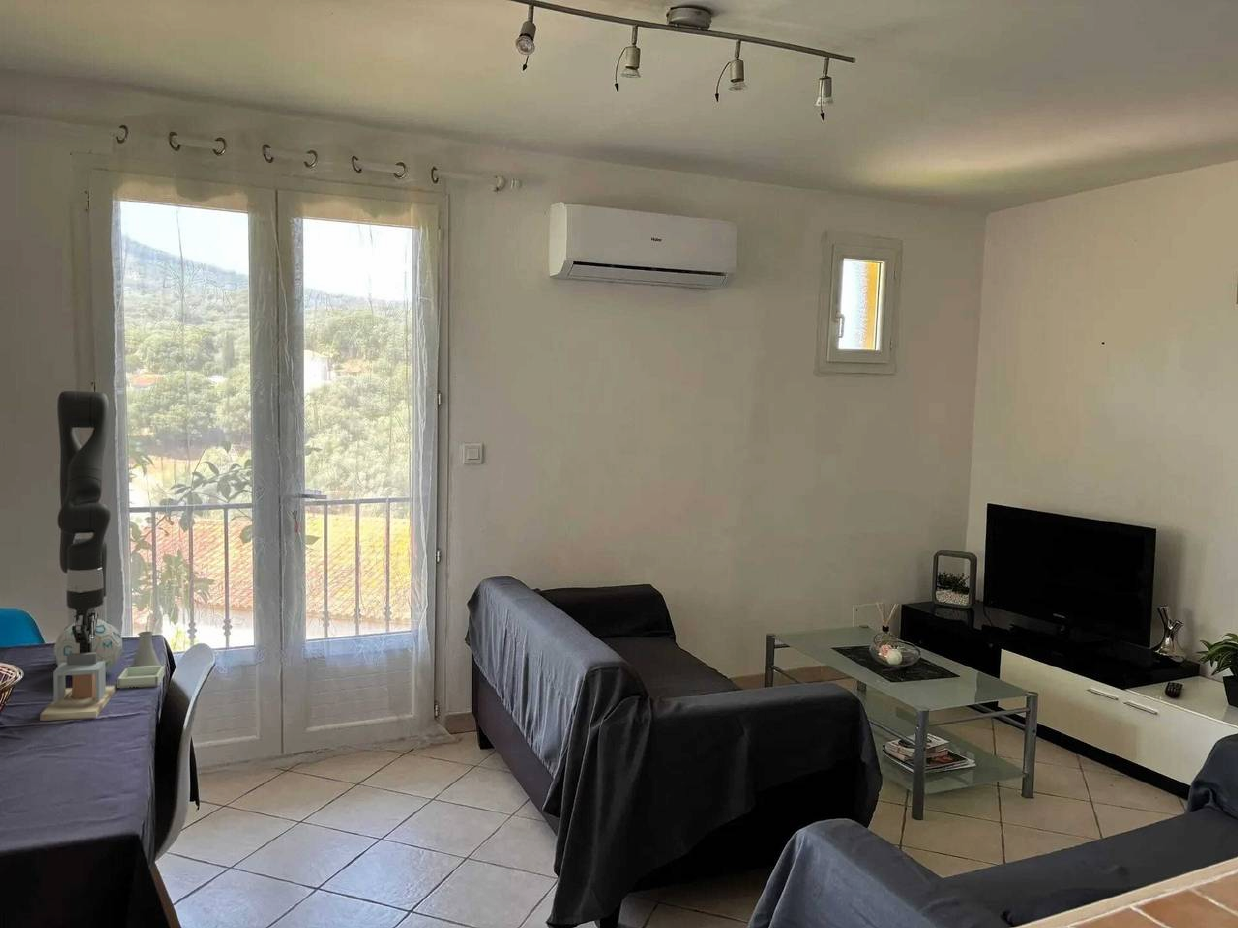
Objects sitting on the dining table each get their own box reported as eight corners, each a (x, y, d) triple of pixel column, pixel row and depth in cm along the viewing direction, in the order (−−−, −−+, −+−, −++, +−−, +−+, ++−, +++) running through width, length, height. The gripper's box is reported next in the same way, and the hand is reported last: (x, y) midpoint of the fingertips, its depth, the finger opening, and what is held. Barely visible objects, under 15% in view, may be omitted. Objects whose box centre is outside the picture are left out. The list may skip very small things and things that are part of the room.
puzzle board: (64, 694, 212) (64, 688, 211) (115, 691, 215) (115, 685, 215) (40, 721, 195) (40, 714, 195) (96, 717, 198) (96, 711, 198)
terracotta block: (77, 696, 210) (77, 668, 210) (96, 695, 212) (96, 667, 211) (72, 702, 206) (72, 674, 206) (92, 701, 208) (91, 673, 207)
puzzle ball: (135, 669, 231) (135, 614, 230) (95, 688, 216) (94, 629, 215) (82, 665, 233) (81, 610, 232) (39, 683, 218) (38, 625, 217)
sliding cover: (61, 694, 207) (61, 653, 206) (105, 691, 209) (105, 651, 209) (53, 703, 201) (53, 661, 200) (98, 700, 204) (98, 659, 203)
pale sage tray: (125, 676, 225) (125, 667, 225) (164, 674, 228) (164, 665, 228) (117, 688, 217) (117, 678, 217) (157, 686, 220) (157, 676, 219)
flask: (124, 670, 230) (123, 633, 229) (149, 663, 237) (149, 627, 236) (141, 675, 227) (141, 638, 226) (167, 668, 233) (166, 631, 232)
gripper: (75, 580, 213) (75, 650, 214) (58, 593, 200) (59, 667, 201) (109, 580, 215) (110, 648, 216) (95, 592, 202) (96, 665, 204)
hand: (85, 657), depth 209 cm, fingers closed
